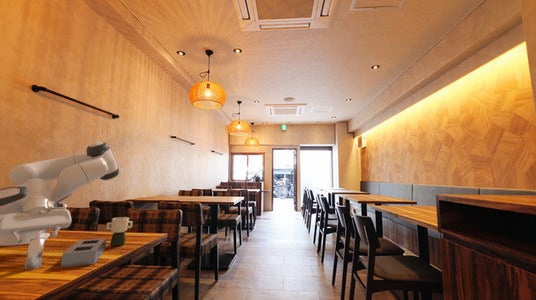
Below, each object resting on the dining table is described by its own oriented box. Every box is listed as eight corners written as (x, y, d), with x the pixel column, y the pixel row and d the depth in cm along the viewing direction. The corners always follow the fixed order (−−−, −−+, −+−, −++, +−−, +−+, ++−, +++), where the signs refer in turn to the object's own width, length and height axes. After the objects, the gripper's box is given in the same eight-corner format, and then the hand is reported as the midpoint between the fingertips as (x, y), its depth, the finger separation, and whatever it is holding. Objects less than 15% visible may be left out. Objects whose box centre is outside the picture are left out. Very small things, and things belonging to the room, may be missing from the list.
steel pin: (28, 266, 82) (32, 238, 84) (42, 265, 84) (46, 237, 85) (22, 270, 79) (27, 241, 80) (37, 268, 80) (42, 240, 82)
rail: (78, 251, 100) (79, 240, 100) (105, 249, 104) (106, 238, 105) (60, 268, 82) (62, 253, 82) (94, 264, 86) (95, 250, 87)
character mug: (130, 242, 117) (133, 216, 119) (130, 245, 111) (133, 218, 113) (104, 244, 111) (108, 217, 113) (103, 248, 105) (106, 220, 107)
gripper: (0, 207, 84) (-4, 239, 76) (71, 203, 100) (73, 229, 92) (-3, 218, 86) (-7, 250, 79) (67, 213, 102) (69, 239, 94)
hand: (37, 239), depth 86 cm, fingers open, 8 cm apart
